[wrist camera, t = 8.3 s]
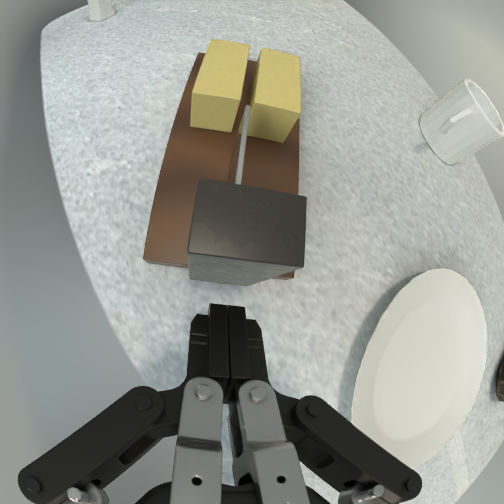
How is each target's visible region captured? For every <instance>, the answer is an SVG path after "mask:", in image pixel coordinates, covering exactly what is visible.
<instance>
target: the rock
mask: <svg viewBox="0 0 504 504" xmlns="http://www.w3.org/2000/svg"><path fill="white" fill-rule="evenodd" d="M496 395H497V397H498V400H499V401H502V402H504V361H503V363H502V365H501V366H500V369H499V371H498V377H497V384H496Z"/></svg>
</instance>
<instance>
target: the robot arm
mask: <svg viewBox="0 0 504 504" xmlns="http://www.w3.org/2000/svg"><path fill="white" fill-rule="evenodd" d="M262 340H263V339H262V332H261V328H260V327H259V325H258V323H257V322H256V320H252V319H246V314H245V307H240V306H231V305H221V304H212V303H210V305H209V311H208V315H201V314H196V316H195V317H194V319H193V320H192V322H191V329H190V340H189V352H188V365H187V376H186V379H185V380H184V382H183V383H182V384H181V385H180V386H178V387H177V388H174V389H171V390H165V391H159V392H157V391H156V390H155V389H153V388H151V387H147V386H138V387H135V388H133V389H131V390H130V391H128V392H127V393H126V394H125V395H123V396H122V397H121V398H119V399H118V400H117V401H116V402H114V403H113V404H112V405H110V406H109V407H108V408H106V409H105V410H104V411H102V412H101V413H100V414H98V415H97V416H96V417H95V418H93V419H92V420H91V421H89V422H88V423H87V424H85V425H84V426H83V427H81V428H80V429H78V430H77V431H76V432H74V433H73V434H72V435H70V436H69V437H68V438H66V439H65V440H63V441H62V442H61V443H59V444H58V445H57V446H55V447H53V448H52V449H51V450H49V451H48V452H47V453H45V454H44V455H42V456H41V457H39V458H38V459H36V460H35V461H34V462H32V463H31V464H29V465H28V466H26V467H25V468H23V469H22V470H21V471H20V473H19V475H18V484H19V487H20V490H21V492H22V493H23V494H24V496H25V497H26V498H27V499H28V500H30V501H31V502H33V503H35V504H109V498H108V496H107V494H106V493H105V491H104V490H103V488H105V487H106V486H107V485H108V484H110V483H111V482H112V481H113V480H115V479H116V478H117V477H118V476H120V475H121V474H122V473H123V472H124V471H126V470H127V469H128V468H129V467H130V466H131V465H133V464H134V463H135V462H136V461H138V459H140V458H141V457H142V456H143V455H144V454H145V453H147V452H148V451H149V450H150V449H151V448H152V447H153V446H155V445H156V444H157V443H158V442H159V441H160V440H161V439H162V438H164V437H169V436H174V435H178V437H177V442H176V448H175V456H174V465H173V475H172V481H171V482H167V483H163V484H160V485H158V486H156V487H154V488H152V489H151V490H149V491H148V492H147V493H146V494H145V495H144V496H143V497H142V498H141V499H139V500H138V501H137V502H136V503H135V504H330V503H329V502H328V501H327V500H325V499H324V498H323V497H322V496H320V495H319V494H318V493H317V492H316V491H314V490H313V489H311V488H310V487H308V486H306V485H305V482H304V478H303V475H302V471H301V467H300V463H299V461H301V462H302V463H303V464H304V465H305V466H306V467H308V468H309V469H310V470H311V471H313V472H314V473H315V474H316V475H317V476H319V477H320V478H321V479H323V480H324V481H325V482H326V483H328V484H329V485H330V486H332V487H333V488H334V489H336V490H337V491H338V492H340V495H339V499H338V503H339V504H399V503H401V502H405V501H408V500H411V499H413V498H415V497H416V496H417V495H418V494H419V493H420V491H421V488H422V479H421V477H420V475H419V474H418V473H417V472H415V471H414V470H412V469H411V468H410V467H408V466H407V465H405V464H404V463H403V462H401V461H400V460H398V459H397V458H396V457H394V456H393V455H392V454H390V453H389V452H388V451H386V450H385V449H384V448H382V447H381V446H380V445H378V444H377V443H376V442H374V441H373V440H372V439H371V438H369V437H368V436H367V435H365V434H364V433H363V432H362V431H360V430H359V429H358V428H357V427H355V426H354V425H353V424H352V423H350V422H349V421H348V420H347V419H346V418H344V417H343V416H342V415H341V414H339V413H338V412H337V411H336V410H335V409H334V408H332V407H331V406H330V405H329V404H328V403H326V402H325V401H324V400H323V399H321V398H320V397H317V396H312V395H310V396H305V397H303V398H301V399H300V400H299V399H296V398H292V397H288V396H285V395H282V394H280V393H278V392H277V391H276V390H274V389H273V387H272V386H271V385H270V383H269V380H268V374H267V367H266V360H265V353H264V346H263V341H262ZM223 404H229V415H228V419H227V420H228V428H229V435H230V442H231V449H232V455H233V465H232V470H233V478H234V484H235V486H230V485H225V484H221V482H222V446H221V427H222V407H223Z"/></svg>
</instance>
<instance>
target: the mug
mask: <svg viewBox="0 0 504 504" xmlns="http://www.w3.org/2000/svg"><path fill="white" fill-rule="evenodd" d="M420 127H421V131H422V133H423V135H424V138H425V140H426V141H427V143H428V144H429V146H430V148H431V149H432V150H433V151H434V153H435V154H436V155H437V156H438V157H439V158H440V159H441V160H442V161H444V162H445V163H447V164H450V165H454V164H456V163H458V162H460V161H461V160H463V159H465V158H467V157H468V156H470V155H472V154H474V153H475V152H477V151H479V150H480V149H482V148H484V147H486V146H487V145H489V144H491V143H492V142H494V141H496V140H498V139H499V138H501V137H503V136H504V125H503V122H502V120H501V118H500V116H499V114H498V112H497V110H496V108H495V107H494V105H493V103H492V102H491V100H490V99H489V98H488V96H487V95H486V94H485V93H484V91H483V90H482V89H481V88H480V87H479V86H478V85H477V84H476V83H475V82H473V81H472V80H471V79H468V78H465V79H464V80H463V81H461V82H460V83H459V84H458V85H457V86H455V87H454V88H453V89H452V90H450V91H449V92H448V93H447V94H446V95H444V97H442V98H441V99H440V100H438V101H437V102H436V103H435V104H434V105H432V106H431V107H430V108H429V109H428V110H426V111H425V112H424V113H423V114H422V115H421V116H420Z"/></svg>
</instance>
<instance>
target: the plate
mask: <svg viewBox="0 0 504 504" xmlns="http://www.w3.org/2000/svg"><path fill="white" fill-rule="evenodd" d="M486 358H487V327H486V320H485V314H484V311H483V308H482V305H481V302H480V299H479V297H478V295H477V293H476V292H475V290H474V288H473V287H472V285H471V283H469V282H468V281H467V280H466V279H465V278H464V277H463V276H462V275H461V274H460V273H457V272H455V271H452V270H450V269H448V268H439V269H430V270H428V271H426V272H424V273H422V274H420V275H418V276H416V277H414V278H413V279H412V280H411V281H410V282H409V283H408V284H407V285H406V286H404V287H403V288H402V289H401V290H400V291H399V292H398V293H397V294H396V296H395V297H394V299H393V300H392V302H391V303H390V304H389V306H388V307H387V309H386V310H385V311H384V313H383V314H382V316H381V317H380V319H379V322H378V324H377V326H376V328H375V330H374V332H373V334H372V336H371V338H370V340H369V342H368V344H367V346H366V349H365V353H364V356H363V359H362V362H361V365H360V368H359V371H358V374H357V377H356V381H355V388H354V394H353V400H352V406H351V422H352V424H353V425H354V426H355V427H357V428H358V429H359V430H360V431H362V432H363V433H364V434H365V435H367V436H368V437H369V438H371V439H372V440H373V441H374V442H376V443H377V444H378V445H380V446H381V447H382V448H384V449H385V450H386V451H388V452H389V453H390V454H392V455H393V456H394V457H396V458H397V459H398V460H400V461H401V462H403V463H404V464H405V465H407V466H408V467H410V468H411V469H414V468H417V467H418V466H420V465H422V464H423V463H425V462H427V461H428V460H430V459H431V458H433V457H434V456H435V455H436V454H437V453H438V452H440V451H441V450H442V449H443V448H444V447H445V446H446V445H447V444H448V443H449V442H450V440H451V439H452V438H453V437H454V436H455V434H456V433H457V432H458V431H459V429H460V428H461V426H462V425H463V423H464V421H465V420H466V418H467V416H468V415H469V413H470V411H471V409H472V407H473V404H474V402H475V400H476V397H477V395H478V393H479V389H480V386H481V383H482V379H483V375H484V371H485V365H486Z"/></svg>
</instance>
